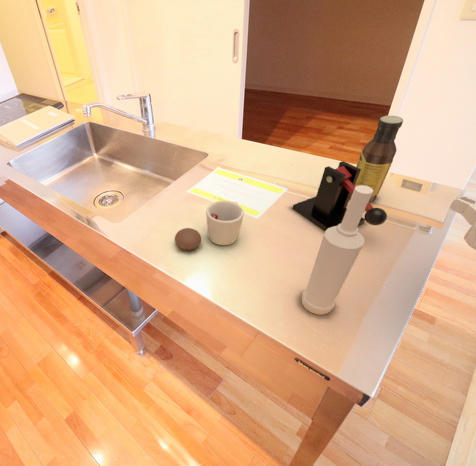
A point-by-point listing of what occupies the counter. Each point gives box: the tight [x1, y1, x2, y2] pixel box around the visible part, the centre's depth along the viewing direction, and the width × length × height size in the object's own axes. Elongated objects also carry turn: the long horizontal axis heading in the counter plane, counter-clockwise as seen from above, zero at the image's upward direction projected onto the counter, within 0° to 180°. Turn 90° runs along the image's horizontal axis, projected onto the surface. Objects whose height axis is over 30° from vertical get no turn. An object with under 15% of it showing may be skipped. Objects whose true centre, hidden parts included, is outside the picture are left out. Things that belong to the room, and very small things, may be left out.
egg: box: [174, 227, 202, 251], centre depth 73 cm, size 6×6×4 cm
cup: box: [205, 200, 245, 246], centre depth 73 cm, size 11×8×8 cm
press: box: [292, 160, 366, 232], centre depth 72 cm, size 12×9×13 cm
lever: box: [334, 166, 388, 226], centre depth 67 cm, size 14×4×4 cm, turn 21°
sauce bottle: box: [350, 115, 404, 203], centre depth 73 cm, size 6×6×20 cm
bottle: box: [301, 185, 373, 316], centre depth 50 cm, size 5×5×25 cm
